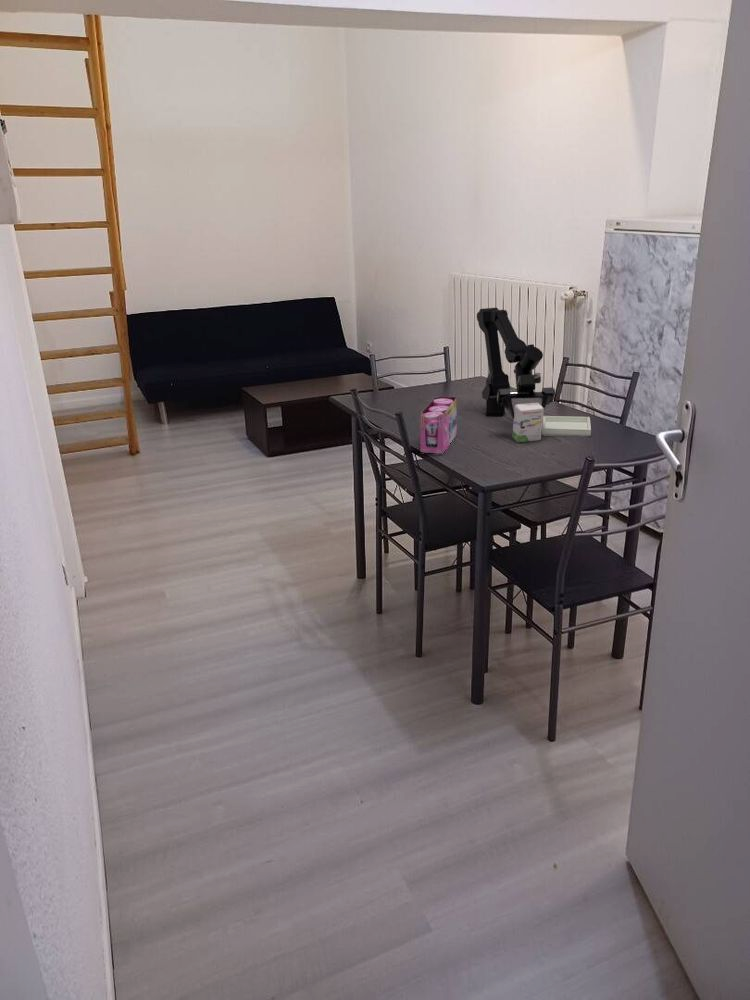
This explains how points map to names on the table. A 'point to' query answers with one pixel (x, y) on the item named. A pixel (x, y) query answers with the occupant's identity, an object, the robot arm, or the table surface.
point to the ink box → (527, 422)
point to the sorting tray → (566, 426)
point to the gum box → (438, 424)
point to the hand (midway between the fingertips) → (527, 417)
